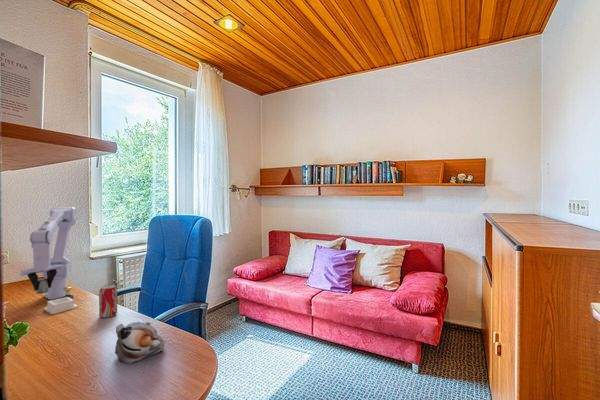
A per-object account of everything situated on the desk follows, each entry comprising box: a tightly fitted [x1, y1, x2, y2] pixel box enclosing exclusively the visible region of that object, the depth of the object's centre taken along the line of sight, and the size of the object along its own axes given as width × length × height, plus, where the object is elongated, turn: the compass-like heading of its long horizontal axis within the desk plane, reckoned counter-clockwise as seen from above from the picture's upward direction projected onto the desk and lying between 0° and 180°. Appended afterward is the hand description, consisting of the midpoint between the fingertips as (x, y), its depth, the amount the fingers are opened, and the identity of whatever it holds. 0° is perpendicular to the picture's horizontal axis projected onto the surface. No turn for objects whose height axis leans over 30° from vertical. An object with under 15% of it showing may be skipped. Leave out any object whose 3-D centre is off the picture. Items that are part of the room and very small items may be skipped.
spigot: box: [36, 277, 49, 295], centre depth 132 cm, size 4×4×6 cm
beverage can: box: [98, 284, 118, 319], centre depth 124 cm, size 6×6×12 cm
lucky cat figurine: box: [114, 321, 165, 364], centre depth 93 cm, size 15×12×14 cm
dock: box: [43, 293, 79, 315], centre depth 133 cm, size 12×11×3 cm
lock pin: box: [63, 285, 73, 297], centre depth 138 cm, size 3×3×4 cm
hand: (42, 288), depth 132 cm, fingers closed on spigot, 4 cm apart
